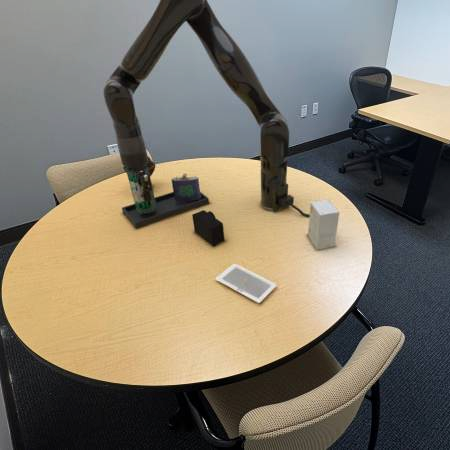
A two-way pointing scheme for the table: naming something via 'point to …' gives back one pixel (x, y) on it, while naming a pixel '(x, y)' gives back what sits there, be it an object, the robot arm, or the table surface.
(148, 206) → the can
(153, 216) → the tray
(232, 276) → the touchpad
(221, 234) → the digital camera
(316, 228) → the small box
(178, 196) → the flask
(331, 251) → the table surface
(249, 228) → the table surface
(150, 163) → the ice cream bowl
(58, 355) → the table surface
